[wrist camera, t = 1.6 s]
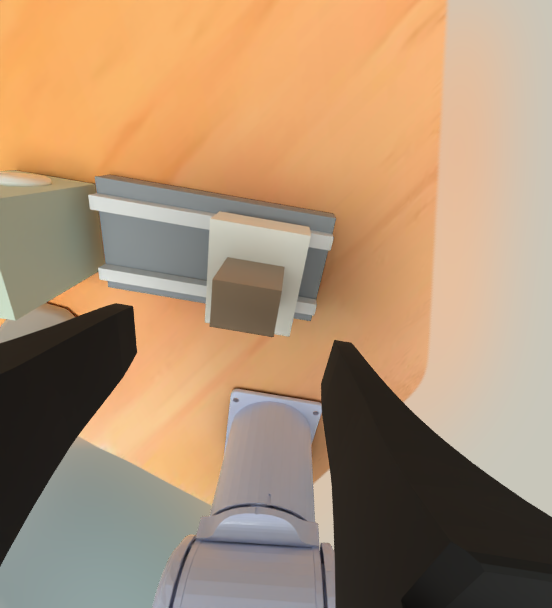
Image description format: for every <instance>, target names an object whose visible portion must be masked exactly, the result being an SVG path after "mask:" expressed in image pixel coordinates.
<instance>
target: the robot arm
mask: <svg viewBox="0 0 552 608" xmlns="http://www.w3.org/2000/svg"><path fill="white" fill-rule="evenodd" d="M136 354H137V347H136V335H135V323H134V311H133V306H128V305H122V304H117V303H116V304H112V305H108V306H105V307H102V308H99V309H97V310H94V311H91V312H88V313H86V314H83V315H80V316H78V317H75V318H72V319H70V320H67V321H64V322H61V323H59V324H56V325H53V326H51V327H48V328H45V329H42V330H39V331H36V332H33V333H30V334H27V335H24V336H21V337H18V338H15V339H12V340H9V341H6V342H2V343H0V566H1V564H2V562H3V560H4V558H5V556H6V554H7V552H8V551H9V549H10V547H11V545H12V543H13V542H14V540H15V538H16V536H17V535H18V533H19V531H20V529H21V528H22V526H23V524H24V522H25V520H26V519H27V517H28V515H29V513H30V511H31V510H32V508H33V506H34V505H35V503H36V501H37V500H38V498H39V496H40V495H41V493H42V491H43V490H44V488H45V486H46V485H47V483H48V481H49V480H50V478H51V476H52V475H53V473H54V471H55V470H56V468H57V467H58V465H59V464H60V462H61V460H62V459H63V457H64V456H65V454H66V453H67V451H68V449H69V448H70V446H71V445H72V443H73V442H74V441H75V439H76V438H77V436H78V435H79V434H80V432H81V431H82V430H83V428H84V427H85V426H86V424H87V423H88V422H89V421H90V419H91V418H92V417H93V415H94V414H95V413H96V412H97V410H98V409H99V408H100V406H101V405H102V404H103V403H104V401H105V400H106V399H107V397H108V396H109V395H110V394H111V392H112V391H113V390H114V388H115V387H116V386H117V384H118V383H119V382H120V380H121V379H122V378H123V376H124V375H125V373H126V371H127V370H128V368H129V366H130V365H131V363H132V361H133V359H134V357H135V355H136ZM235 398H238V399H235ZM314 411H317V412H314ZM321 413H322V416H323V423H324V431H325V437H326V444H327V451H328V458H329V465H330V473H331V482H332V499H333V519H334V550H333V549H332V546H331V545H330V544H329V543H321V545H320V550H319V532H318V524H317V523H315V513H314V493H313V471H312V450H311V444H312V441H313V438H314V435H315V432H316V429H317V426H318V423H319V420H320V417H321ZM152 608H552V517H551V516H549V515H547V514H546V513H544V512H543V511H541V510H540V509H538V508H536V507H535V506H533V505H532V504H530V503H528V502H527V501H525V500H524V499H522V498H521V497H519V496H518V495H517V494H515V493H514V492H512V491H511V490H509V489H508V488H507V487H505V486H503V485H502V484H501V483H499V482H498V481H496V480H495V479H494V478H492V477H491V476H489V475H488V474H487V473H485V472H484V471H483V470H481V469H480V468H478V467H477V466H476V465H475V464H473V463H472V462H471V461H469V460H468V459H467V458H466V457H464V456H463V455H462V454H460V453H459V452H458V451H457V450H455V449H454V448H453V447H452V446H450V445H449V444H448V443H447V442H445V441H444V440H443V439H442V438H441V437H440V436H438V435H437V434H436V433H435V432H434V431H433V430H431V429H430V428H429V427H428V426H427V425H426V424H425V423H424V422H423V421H421V420H420V419H419V418H418V417H417V416H416V415H415V414H414V413H413V412H412V411H411V410H410V409H409V408H408V407H407V406H406V405H405V404H404V403H403V402H402V401H401V400H400V399H399V398H398V397H397V396H396V395H395V394H394V392H393V391H392V390H391V389H390V388H389V387H388V386H387V385H386V384H385V382H384V381H383V380H382V379H381V378H380V377H379V376H378V374H377V373H376V372H375V371H374V370H373V368H372V367H371V366H370V365H369V364H368V362H367V361H366V360H365V359H364V357H363V356H362V355H361V354H360V353H359V351H358V350H357V349H356V348H355V346H354V345H353V344H352V343H349V342H343V341H337V340H334V343H333V346H332V350H331V353H330V356H329V360H328V363H327V366H326V369H325V373H324V376H323V379H322V383H321V403H320V402H315V401H309V400H303V399H297V398H291V397H285V396H278V395H272V394H266V393H260V392H254V391H248V390H242V389H233V390H232V392H231V398H230V406H229V415H228V424H227V433H226V442H225V451H224V458H223V462H222V466H221V471H220V475H219V479H218V483H217V487H216V491H215V495H214V500H213V504H212V508H211V512H210V516H202V517H201V520H200V523H199V528H198V531H197V535H188V536H186V537H185V538H184V539H183V540H182V541H181V543H180V544H179V545H178V547H177V548H176V549H175V550H174V551H173V553H172V554H171V556H170V557H169V559H168V561H167V564H166V566H165V568H164V571H163V573H162V576H161V579H160V582H159V585H158V588H157V591H156V595H155V598H154V602H153V606H152Z"/></svg>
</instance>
